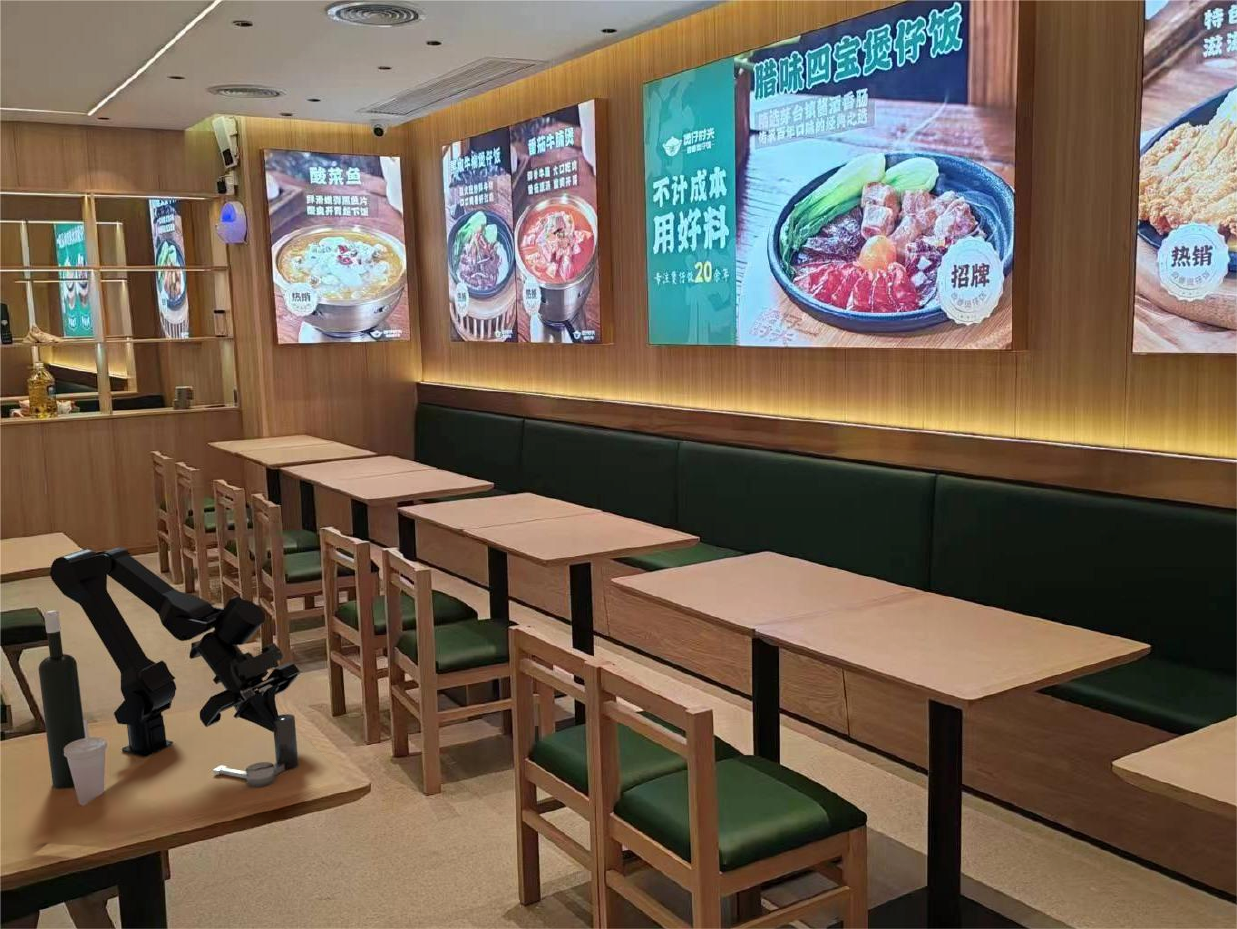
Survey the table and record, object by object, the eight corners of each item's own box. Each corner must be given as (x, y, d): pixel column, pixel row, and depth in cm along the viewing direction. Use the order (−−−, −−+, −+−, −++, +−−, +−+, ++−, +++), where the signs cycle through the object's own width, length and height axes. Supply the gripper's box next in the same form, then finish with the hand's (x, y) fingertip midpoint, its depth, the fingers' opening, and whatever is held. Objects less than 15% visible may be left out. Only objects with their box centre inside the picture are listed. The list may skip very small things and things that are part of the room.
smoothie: (96, 810, 178) (86, 728, 176) (61, 808, 179) (50, 726, 177) (121, 792, 184) (112, 712, 182) (87, 790, 185) (77, 711, 183)
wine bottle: (90, 783, 188) (70, 613, 183) (52, 791, 186) (31, 618, 181) (89, 771, 193) (70, 604, 188) (52, 778, 191) (32, 610, 186)
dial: (262, 789, 181) (257, 739, 179) (208, 778, 185) (203, 730, 184) (304, 763, 190) (300, 716, 189) (252, 753, 195) (248, 707, 194)
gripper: (204, 651, 182) (259, 726, 178) (288, 618, 198) (339, 686, 194) (176, 690, 187) (229, 763, 183) (259, 654, 203) (310, 721, 199)
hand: (279, 731), depth 190 cm, fingers closed, pressing on dial
